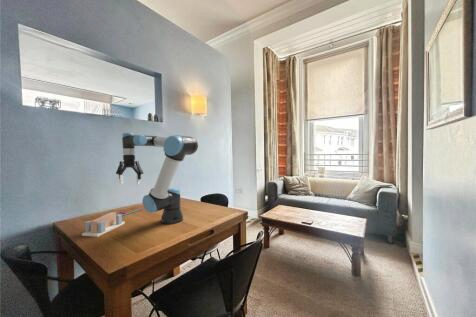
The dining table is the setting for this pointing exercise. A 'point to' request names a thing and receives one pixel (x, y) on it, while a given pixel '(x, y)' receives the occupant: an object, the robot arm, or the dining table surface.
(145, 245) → the dining table surface
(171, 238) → the dining table surface
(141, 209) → the squeegee
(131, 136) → the robot arm
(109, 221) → the pink rectangular block
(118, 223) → the rack
